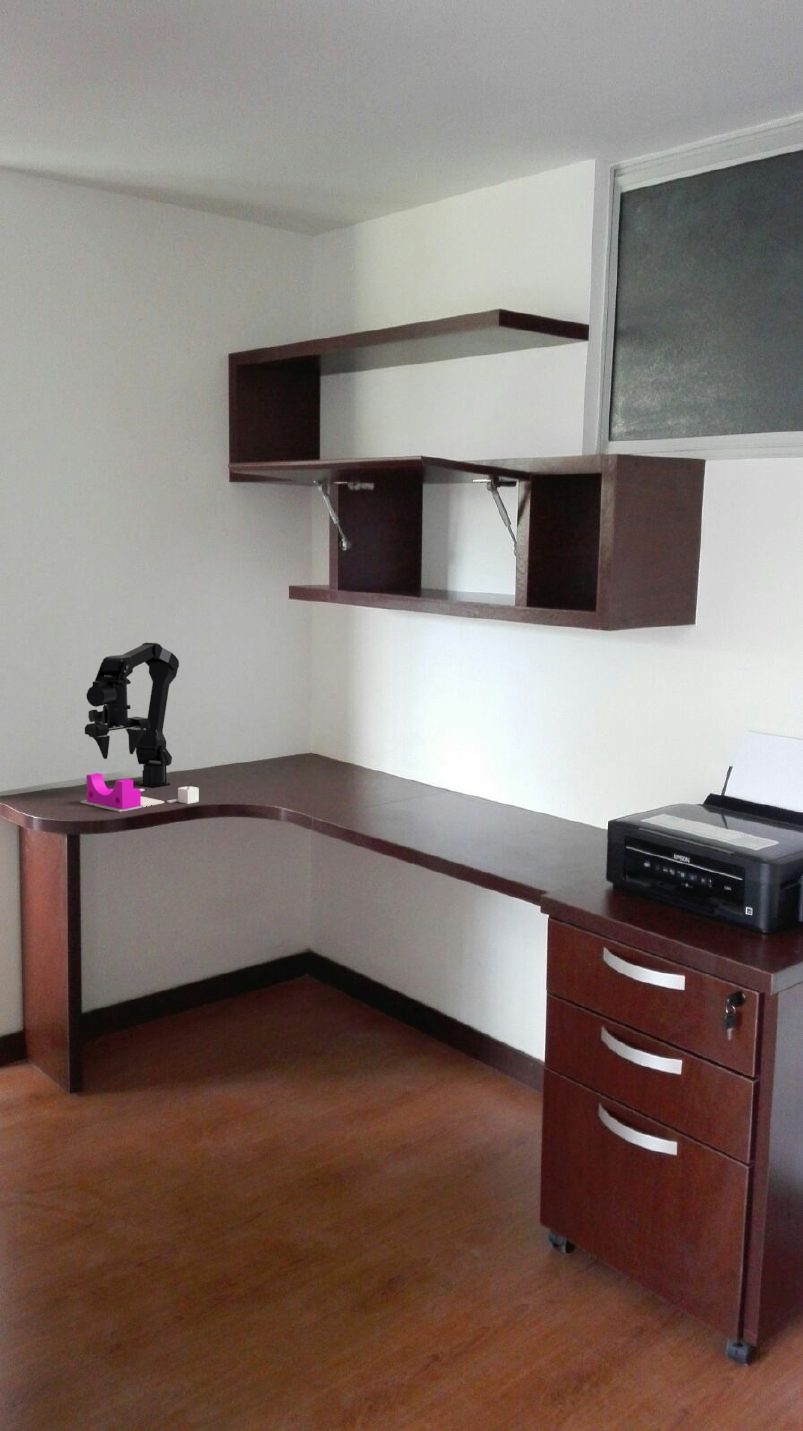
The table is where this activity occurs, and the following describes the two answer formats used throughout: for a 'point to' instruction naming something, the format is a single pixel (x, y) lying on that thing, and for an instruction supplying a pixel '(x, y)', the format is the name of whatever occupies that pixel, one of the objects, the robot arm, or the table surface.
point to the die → (188, 794)
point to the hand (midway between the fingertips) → (118, 756)
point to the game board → (144, 803)
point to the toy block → (112, 793)
